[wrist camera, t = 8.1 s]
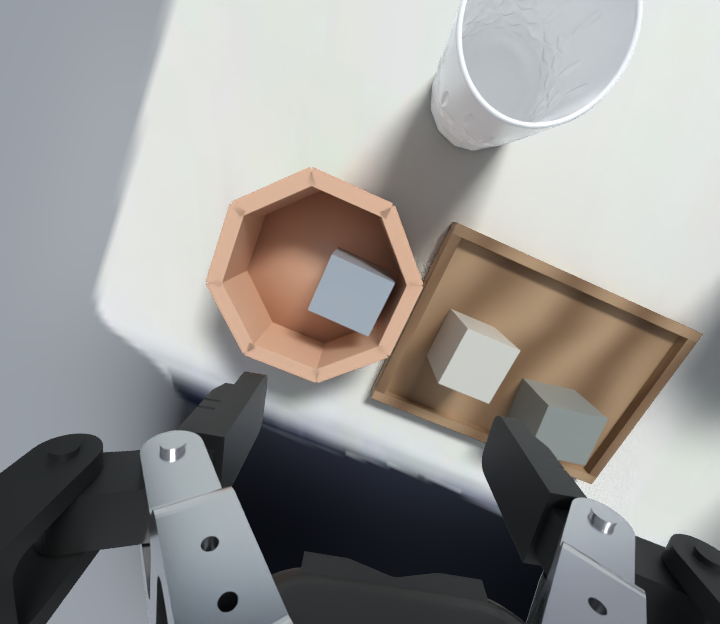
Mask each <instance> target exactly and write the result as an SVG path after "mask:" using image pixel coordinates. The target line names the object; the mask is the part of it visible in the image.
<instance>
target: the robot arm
mask: <svg viewBox="0 0 720 624" xmlns="http://www.w3.org/2000/svg"><path fill="white" fill-rule="evenodd" d="M266 387H267V376H266V375H262V374H256V373H250V372H244V373H243V374H242V375H241V377H240V378H239V379H238V380H237V382H236V383H235V384H228V383H225V384H223V385H221V386H219V387H217V388H215V389H213V390H212V391H211V392H210V393H209V394H208V395H207V397H206V398H205V400H203V401H202V402H201V403H200V404H199V406H198V407H197V408H196V409H195V410H194V411H193V412H192V413H191V414H190V416H189V417H188V418H187V419H186V420H185V421H184V422H183V423H182V424H181V426H180V427H179V428H178V429H177V430H176V431H170V432H165V433H162V434H159V435H157V436H154V437H152V438H151V439H149V440H148V441H147V442H146V443H145V444H144V445H143V446H142V448H141V450H136V451H122V452H105V453H103V443H102V441H101V440H100V439H99V438H98V437H96V436H93V435H90V434H69V435H64V436H60V437H56V438H53V439H50V440H48V441H45V442H43V443H41V444H39V445H38V446H36V447H35V448H33V449H32V450H30V451H29V452H28V453H26V454H25V455H24V456H22V457H21V458H20V459H19V460H17V461H16V462H15V463H13V464H12V465H11V466H9V467H8V468H7V469H5V470H4V471H3V472H1V473H0V624H46V623H47V622H48V620H49V619H50V618H51V616H52V615H53V613H54V612H55V611H56V609H57V608H58V607H59V605H60V604H61V602H62V601H63V600H64V598H65V597H66V596H67V594H68V593H69V592H70V590H71V589H72V587H73V586H74V585H75V583H76V582H77V581H78V579H79V578H80V577H81V575H82V574H83V572H84V571H85V570H86V568H87V567H88V565H89V564H90V563H91V561H92V560H93V559H94V557H95V556H96V554H97V553H98V552H99V550H101V549H109V548H117V547H124V546H131V545H138V544H140V554H141V561H142V570H143V578H144V585H145V594H146V602H147V610H148V620H149V624H720V551H719V550H717V549H715V548H714V547H712V546H710V545H709V544H707V543H705V542H703V541H701V540H699V539H697V538H694V537H691V536H688V535H684V534H675V535H673V536H672V537H671V538H670V540H669V542H668V544H667V546H666V548H665V547H663V546H660V545H658V544H655V543H652V542H650V541H647V540H645V539H642V538H640V537H637V536H635V533H634V531H633V529H632V527H631V526H630V525H629V523H628V522H627V521H626V520H625V519H624V518H623V517H622V516H620V515H619V514H618V513H617V512H615V511H614V510H612V509H611V508H609V507H608V506H606V505H604V504H602V503H600V502H598V501H595V500H592V499H589V498H587V497H586V496H585V495H584V493H583V492H582V491H581V489H580V488H579V487H578V485H577V484H576V483H575V481H574V480H573V479H572V478H571V476H570V475H569V474H568V472H567V471H566V470H564V467H563V466H562V465H561V463H560V462H559V461H557V458H556V457H555V455H554V454H553V453H552V451H551V450H550V449H549V448H548V447H547V446H546V445H545V444H544V443H542V442H541V441H540V440H539V439H537V438H536V437H535V436H533V435H532V434H531V433H530V431H529V430H528V429H527V427H526V426H525V425H524V423H523V422H522V421H521V420H520V419H515V418H509V417H504V416H496V417H495V419H494V420H493V423H492V426H491V429H490V433H489V436H488V439H487V442H486V445H485V448H484V451H483V456H482V469H483V472H484V475H485V477H486V479H487V482H488V484H489V486H490V489H491V491H492V493H493V495H494V498H495V500H496V502H497V504H498V507H499V509H500V511H501V514H502V516H503V518H504V520H505V523H506V525H507V527H508V530H509V532H510V534H511V536H512V539H513V541H514V543H515V545H516V548H517V550H518V552H519V555H520V557H521V559H522V561H523V563H529V564H535V565H541V566H542V568H543V570H544V571H543V573H542V576H541V578H540V580H539V583H538V587H537V590H536V593H535V596H534V599H533V603H532V606H531V609H530V612H529V615H528V619H527V622H526V623H525V622H523V621H522V620H521V619H520V618H518V617H517V616H516V615H515V614H513V613H512V612H510V611H509V610H507V609H506V608H504V607H503V606H501V605H499V604H497V603H495V602H494V601H492V600H489V599H487V596H486V593H485V590H484V586H483V583H482V580H478V579H471V578H466V577H460V576H453V575H447V574H441V573H435V574H426V575H417V576H408V577H399V578H396V577H391V576H388V575H386V574H383V573H381V572H379V571H376V570H374V569H371V568H369V567H367V566H365V565H362V564H360V563H358V562H355V561H353V560H351V559H348V558H341V557H336V556H330V555H324V554H317V553H311V552H304V557H303V562H302V567H301V568H293V569H289V570H284V571H281V572H278V573H275V574H273V575H271V574H270V571H269V569H268V567H267V564H266V562H265V560H264V558H263V555H262V553H261V551H260V548H259V546H258V544H257V542H256V539H255V537H254V535H253V532H252V530H251V528H250V525H249V523H248V521H247V518H246V516H245V514H244V512H243V510H242V507H241V505H240V502H239V500H238V498H237V496H236V493H235V491H234V489H233V488H232V487H231V486H232V484H233V482H234V480H235V478H236V477H237V475H238V472H239V470H240V469H241V467H242V465H243V463H244V461H245V459H246V457H247V455H248V453H249V451H250V449H251V447H252V445H253V443H254V441H255V439H256V437H257V435H258V433H259V430H260V428H261V424H262V420H263V413H264V404H265V396H266Z"/></svg>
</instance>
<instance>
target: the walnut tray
mask: <svg viewBox="0 0 720 624" xmlns="http://www.w3.org/2000/svg"><path fill="white" fill-rule="evenodd" d="M422 286H423V289H422V291H421V293H420V295H419V297H418V299H417V301H416V303H415V305H414V307H413V309H412V311H411V313H410V315H409V317H408V319H407V322H406V324H405V326H404V328H403V330H402V332H401V334H400V336H399V338H398V340H397V342H396V344H395V346H394V348H393V350H392V352H391V354H390V356H389V355H388V358H387V359H386V361H385V363H384V365H383V367H382V369H381V371H380V373H379V375H378V377H377V379H376V381H375V383H374V385H373V387H372V390H371V398H372V399H375V400H377V401H380V402H382V403H385V404H387V405H390V406H392V407H395V408H398V409H400V410H403V411H405V412H408V413H410V414H413V415H415V416H418V417H421V418H423V419H426V420H428V421H431V422H433V423H436V424H438V425H441V426H444V427H446V428H449V429H451V430H454V431H456V432H459V433H462V434H464V435H467V436H469V437H472V438H474V439H477V440H479V441H482V442H485V443H486V442H487V439H488V436H489V433H490V429H491V426H492V423H493V420H494V419H495V417H496V416H504V417H508V414H509V412H510V409H511V407H512V404H513V402H514V399H515V397H516V394H517V391H518V389H519V386H520V384H521V381H522V379H523V378H524V379H529V380H533V381H538V382H542V383H547V384H551V385H556V386H560V387H565V388H569V389H574V390H575V391H576V392H578V393H579V394H580V395H581V396H582V397H583V398H585V399H586V400H587V401H588V402H589V403H590V404H592V405H593V406H594V407H595V408H596V409H597V410H599V411H600V412H601V413H602V414H603V415H604V416H606V417H607V418H608V420H607V422H606V424H605V426H604V428H603V431H602V433H601V435H600V437H599V439H598V441H597V443H596V445H595V447H594V449H593V451H592V453H591V455H590V457H589V459H588V461H587V463H586V465H580V464H575V463H571V462H566V461H561V460H557V461H559V462H560V463H561V465H562V466H563V467H564V470H566V471H567V472H568V474H569V475H570V476H571V477H574V478H577V479H579V480H582V481H584V482H587V483H589V484H592V483H593V482H594V480H595V479H596V478H597V476H598V475H599V474H600V472H601V471H602V470H603V468H604V467H605V466H606V464H607V463H608V462H609V460H610V459H611V457H612V456H613V455H614V453H615V452H616V451H617V449H618V448H619V447H620V445H621V444H622V443H623V441H624V440H625V439H626V437H627V436H628V435H629V433H630V432H631V430H632V429H633V428H634V426H635V425H636V424H637V422H638V421H639V420H640V418H641V417H642V416H643V414H644V413H645V412H646V410H647V409H648V408H649V406H650V405H651V403H652V402H653V401H654V399H655V398H656V397H657V395H658V394H659V393H660V391H661V390H662V389H663V387H664V386H665V385H666V383H667V382H668V381H669V379H670V378H671V377H672V375H673V374H674V372H675V371H676V370H677V368H678V367H679V366H680V364H681V363H682V362H683V360H684V359H685V358H686V356H687V355H688V354H689V352H690V351H691V350H692V348H693V347H694V345H695V344H696V343H697V341H698V340H699V339H700V337H701V336H702V335H703V334H702V333H700V332H697V331H695V330H693V329H691V328H689V327H686V326H684V325H682V324H680V323H678V322H675V321H673V320H671V319H669V318H666V317H664V316H662V315H660V314H658V313H655V312H653V311H651V310H649V309H647V308H644V307H642V306H640V305H638V304H635V303H633V302H631V301H629V300H627V299H624V298H622V297H620V296H618V295H616V294H613V293H611V292H609V291H607V290H605V289H602V288H600V287H598V286H596V285H593V284H591V283H589V282H587V281H585V280H582V279H580V278H578V277H576V276H574V275H571V274H569V273H567V272H565V271H563V270H560V269H558V268H556V267H554V266H551V265H549V264H547V263H545V262H543V261H540V260H538V259H536V258H534V257H532V256H529V255H527V254H525V253H523V252H521V251H518V250H516V249H514V248H512V247H509V246H507V245H505V244H503V243H501V242H498V241H496V240H494V239H492V238H490V237H487V236H485V235H483V234H481V233H478V232H476V231H474V230H472V229H470V228H467V227H465V226H463V225H461V224H459V223H455V222H452V224H451V226H450V228H449V231H448V233H447V235H446V237H445V239H444V241H443V243H442V245H441V247H440V249H439V251H438V253H437V255H436V257H435V259H434V262H433V264H432V266H431V268H430V270H429V272H428V274H427V276H426V278H425V280H424V282H423V285H422ZM450 309H453V310H455V311H457V312H460V313H462V314H464V315H467V316H469V317H471V318H474V319H476V320H478V321H481V322H483V323H485V324H488V325H490V326H492V327H495V328H496V329H497V330H498V331H499V332H500V333H501V334H503V335H504V336H505V337H506V338H507V339H508V340H509V341H510V342H511V343H513V344H514V345H515V346H516V347H517V348H518V349H519V350H520V353H519V354H518V356H517V358H516V359H515V361H514V363H513V364H512V366H511V368H510V369H509V371H508V373H507V374H506V376H505V378H504V379H503V381H502V383H501V384H500V386H499V388H498V389H497V391H496V393H495V395H494V396H493V398H492V400H491V401H490V403H489V404H488V403H486V402H483V401H481V400H478V399H476V398H473V397H471V396H468V395H466V394H463V393H461V392H458V391H456V390H454V389H451V388H449V387H446V386H444V385H441V384H439V383H438V382H437V379H436V377H435V374H434V372H433V370H432V367H431V365H430V363H429V360H428V358H427V353H428V351H429V349H430V348H431V346H432V344H433V342H434V340H435V338H436V336H437V334H438V332H439V330H440V328H441V326H442V324H443V322H444V320H445V319H446V317H447V315H448V313H449V311H450Z"/></svg>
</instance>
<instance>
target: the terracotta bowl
mask: <svg viewBox="0 0 720 624" xmlns="http://www.w3.org/2000/svg"><path fill="white" fill-rule="evenodd" d="M392 205H393V203H391V202H389V201H387V200H385V199H382V198H380V197H378V196H376V195H374V194H371V193H369V192H367V191H365V190H362V189H360V188H358V187H356V186H354V185H351V184H349V183H347V182H345V181H342V180H340V179H338V178H336V177H334V176H331V175H329V174H327V173H325V172H322V171H320V170H318V169H316V168H314V167H312V168H310V167H309V168H306V169H304V170H302V171H300V172H297V173H295V174H293V175H291V176H288V177H286V178H284V179H282V180H279V181H277V182H275V183H273V184H270V185H268V186H266V187H263V188H261V189H259V190H257V191H254V192H252V193H250V194H248V195H245V196H243V197H241V198H239V199H236V200H234V201H232V204H229V208H228V211H227V214H226V217H225V220H224V224H223V227H222V230H221V233H220V237H219V240H218V243H217V246H216V250H215V253H214V256H213V259H212V263H211V266H210V269H209V272H208V276H207V279H206V282H208V283H207V284H206V285H207V287H208V289H209V291H210V293H211V294H212V296H213V298H214V300H215V302H216V304H217V306H218V308H219V310H220V312H221V313H222V315H223V317H224V319H225V321H226V323H227V325H228V327H229V329H230V330H231V332H232V334H233V336H234V338H235V340H236V342H237V344H238V346H239V348H240V349H241V351H242V353H245V356H248V357H250V358H253V359H255V360H258V361H260V362H263V363H266V364H268V365H271V366H273V367H276V368H278V369H281V370H284V371H286V372H289V373H291V374H294V375H296V376H299V377H302V378H304V379H307V380H309V381H312V382H314V383H316V381H317V382H318V383H319V382H322V381H325V380H328V379H330V378H333V377H336V376H339V375H341V374H344V373H347V372H350V371H352V370H355V369H358V368H361V367H363V366H366V365H369V364H372V363H374V362H377V361H380V360H383V359H386V358H388V355H389V356H390V354H391V352H392V350H393V348H394V346H395V344H396V342H397V340H398V338H399V336H400V334H401V332H402V330H403V328H404V326H405V324H406V322H407V319H408V317H409V315H410V313H411V311H412V309H413V307H414V305H415V303H416V301H417V299H418V297H419V295H420V293H421V291H422V289H423V286H422V285H423V281H422V279H421V276H420V273H419V270H418V268H417V265H416V262H415V259H414V256H413V254H412V251H411V248H410V245H409V243H408V240H407V237H406V234H405V231H404V229H403V226H402V223H401V220H400V218H399V215H398V212H397V209H396V206H392ZM337 247H340V248H342V249H344V250H347V251H349V252H351V253H353V254H355V255H357V256H359V257H362V258H364V259H366V260H368V261H370V262H372V263H374V264H377V265H379V266H381V267H383V268H385V269H387V270H389V271H390V272H391V275H392V277H393V280H394V282H395V284H394V286H393V288H392V290H391V292H390V294H389V296H388V298H387V300H386V302H385V304H384V306H383V308H382V310H381V312H380V314H379V316H378V318H377V320H376V322H375V324H374V326H373V328H372V330H371V332H370V334H369V336H366V335H363V334H361V333H359V332H357V331H354V330H352V329H350V328H348V327H345V326H343V325H341V324H339V323H336V322H334V321H332V320H330V319H327V318H325V317H323V316H320V315H318V314H316V313H314V312H311V311H309V310H308V308H309V306H310V303H311V301H312V299H313V296H314V294H315V292H316V290H317V287H318V285H319V283H320V280H321V278H322V276H323V274H324V271H325V269H326V267H327V264H328V262H329V260H330V258H331V255H332V254H333V252H334V251H335V250H336V249H337Z"/></svg>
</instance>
